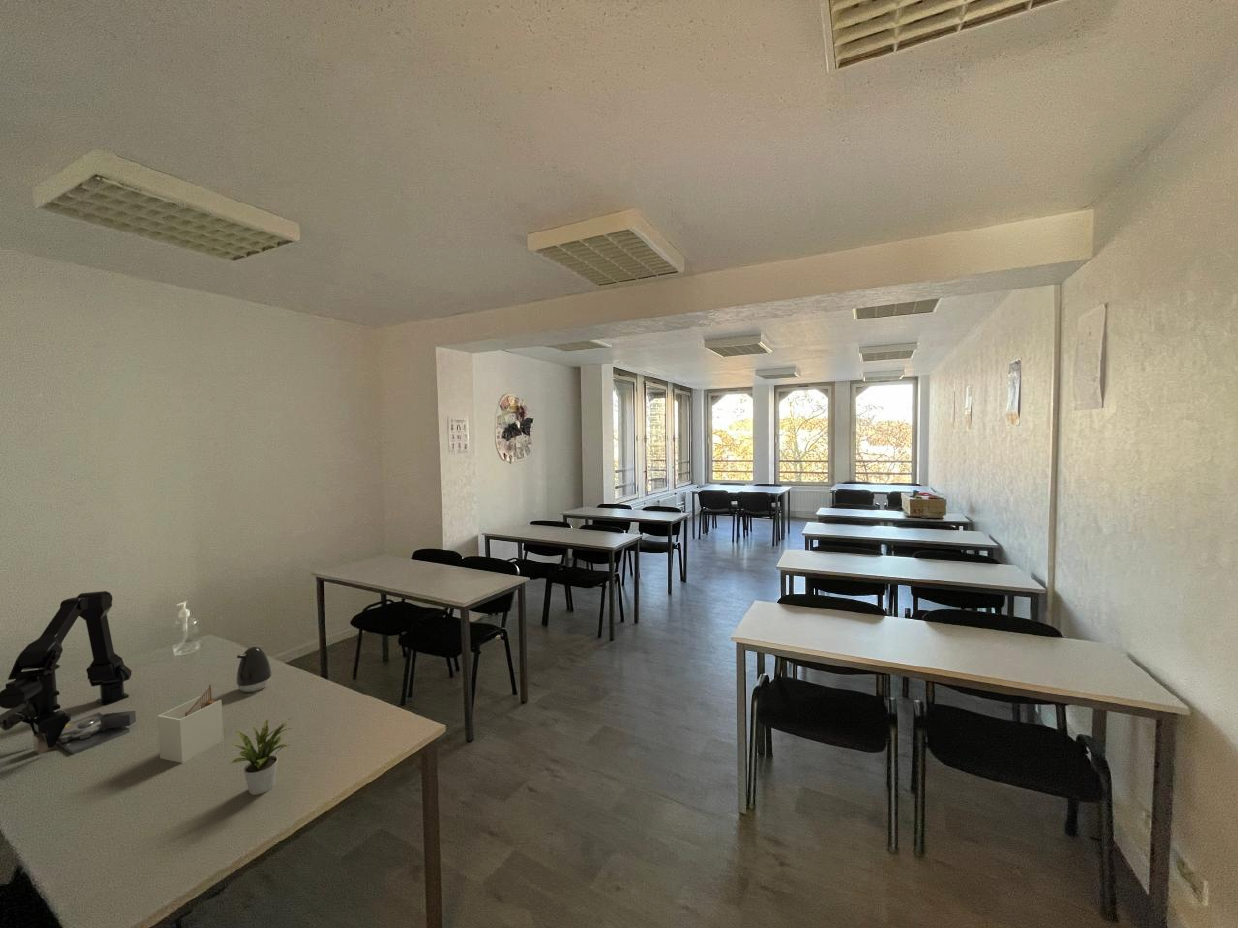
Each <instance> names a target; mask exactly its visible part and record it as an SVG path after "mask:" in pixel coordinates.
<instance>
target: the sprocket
mask: <svg viewBox="0 0 1238 928" xmlns="http://www.w3.org/2000/svg"><path fill="white" fill-rule="evenodd" d="M86 717H87V716H86ZM83 718H84V719H83V720H82V721H79V722H76V723H74V724H68V723H67V724H68V725H66V726H65V727H64V729H63V731H62V733H61V734H60V736H59V738H58V739H60V742H68V741H70V740H73V739H78V738H80V740H81V739H84V738H88V737H90V736H91V735H92V734H95V733H97V732H99V731H105V730H107V729H108V728H115V727H123V726H125V727H130V726H132V725H133V724H135V723H136V722H137V715H136V710H126V711H120V712H119V711H118V712H111V713H104V714H103V715H102V716H98V717H92V716H91V717H87V718H85V717H83Z"/></svg>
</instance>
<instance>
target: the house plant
mask: <svg viewBox="0 0 1238 928" xmlns="http://www.w3.org/2000/svg"><path fill="white" fill-rule="evenodd" d="M291 719H292V718H291V717H290V718H289V719H287V720H285V721H284V722H282V723H281V724H280V725H279V726H278V727H277V728H275V729H273V730H272V731H270V732H269V730H270V729H269V719H266V720H265V722H264V724H263V726H262V728H261V732H260V734H259V732H258V730H257V728H256V727H255V726H252V727H253V731H254V733H255V738H254V740H256V744H257V748H258V749H257V750H256V749H255V747H254V745H253V743H252V741H251V739H250V737H249V736H248V735H247V734H245V733H242V732H240V731H236V730H235V733H236V734H237V735H238V736H239V737H240V739H241V741H242V742H243V744H244V746H243V745H241V744H238V743H232V745H233V746H235V747H238V748H239V749H241V750H242V751H239V755H240V756H241V757H237V758H235V759H233V760H231V762H230V763H229V765H231V764H235V763H236V764H237V763H240V762H245V761H246V762H248V763H247V764H246V765H244V768H243V774H244V777H245V781H246V785H247V788H248V792H249V793H250V795H254V796H257V795H261V794H264V793H266V792H268V791H270V790H272V788H273V787H275V784H276V777H277V776H276V775H277V769H278V763H279V762H278V761H279V758H278V756H277V755H276V754H277V753H278V752H279V751H280V750H282V749H283V748H287V747H288V748H290V744H284V743H283V744H279V743H280V742H281V741H282V740H283V739H284V737H282V736H284V733H283V732H285V731H287V730H291V729H293V727H288V728H284V727H285V726H287V725H288V724H286V723H288V722H289V721H290V720H291ZM271 734H272V735H271ZM279 734H280V735H279ZM270 735H271V736H270ZM278 735H279V736H278ZM269 736H270V738H269V739H267V738H268V737H269ZM278 744H279V745H278ZM275 750H277V751H276V752H275V753H274V754H272V753H273V752H274V751H275Z"/></svg>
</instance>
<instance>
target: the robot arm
mask: <svg viewBox="0 0 1238 928" xmlns="http://www.w3.org/2000/svg"><path fill="white" fill-rule="evenodd" d="M59 604H60V605H59V609H58V610H57V611H56V613H55V615H54V616H53V617H52V619H51V621H50V622H49V623H48V625H47V626H46V627H45V629H44V631H42V633H41V635H40V636H39V638H37V639H36V640H34V641H32V642H31V643H29V644H27V646H26V647H24V649H23V650H22V651H21V652H20V653H19V654H18V656H17V657H16V660H15V662H14V664H13V667H12V669H11V672H10V673H9V676H8V678H7V680H8V681H9V682H7V683H6V684H5V688H4V689H3V690H1V691H0V708H2V709H4V710H5V709H6V711H5V712H3V713H1V714H0V729H2V730H3V731H5V732H6V731H8V730H10V729H12V728H14V726H16V725H18V724H19V723H21V722H22V723H25V724H27V725H28V726H29V728H30V730H31V732H32V734H33V735H34V734H37V733H43V735H44V738H45V741H46V744H47V746H48V748H52V747H54V746H55V744H56V742H57V740H58V738H59V736H60V734H61V733H62V731H63V729H64V727H65V726H66V724H68V723H70V722H72V720H71V719H72V718H71V717H72V716H71V714H70V713H69V712H67V711H65V710H63V709H61V705H60V704H59V703H58V696H59V695H60V691H59V690H57V677H56V670H57V669H59V668H60V667H61V665H59V664H57V663H58V662H59V660H60V658H61V656H62V653H63V651H64V649H63V646H62V643H63V641H64V640H65V638H66V636H67V635H68V634H69V632H70V630H71V629H72V627H73V626H74V624H75V623H76V621H77V619H78V618H79V617H80V618H82V619H83V620H84V621H85V625H86V629H87V634H88V639H89V646H90V651H91V655H92V658H93V659H92V662H91V663H90V665H89V666H88V667H87V668H86V670H85V671H86V673H87V680H88V681H89V684H90V686H91V687H96V686H99V693H100V694H99V696H100V698H97V699H96V700H95V702H97V703H98V704H101V705H103V706H106V705H109V704H112V703H114V702H117V701H119V700H122V699H125V698H128V697H130V694H128V693H126V692H125V685H124V684H125V681H129V680H131V676H132V669H130V668H129V667H128V666H127V665H125V663H124V661H123V658H122V657H121V656H120V655H118V654H117V653H115V651H114V650H115V649H114V645H113V641H112V636H111V635H112V634H111V630H110V625H109V620H108V613H109V611H111V608H112V607H113V595H112V594H111V592H108V591H106V590H102V591H101V590H100V591H93V592H82V593H79V594H78V595H77V596H76V597H75V596H74V597H71V598H66V599H64V600H62V601H61V602H60V603H59ZM11 680H12V681H11ZM8 709H9V710H8ZM56 710H57V711H56ZM56 745H57V744H56Z"/></svg>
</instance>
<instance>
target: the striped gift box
mask: <svg viewBox="0 0 1238 928" xmlns="http://www.w3.org/2000/svg"><path fill="white" fill-rule="evenodd" d="M32 741H33V752H34V753H35V754H37V755H39V756H40V755H42V754H45V753H47V752H50V751H52V750H55V749H57V747H58V746H57V745H58V744H55V746H54V747H52V748H48V746H47V744H46V741H45V738H44V735H43V733H37V734H33V735H32Z"/></svg>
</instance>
